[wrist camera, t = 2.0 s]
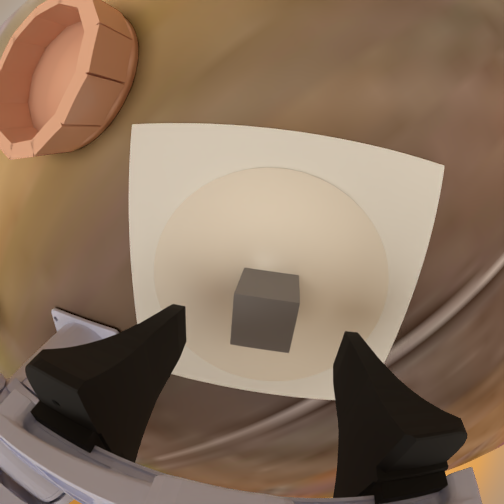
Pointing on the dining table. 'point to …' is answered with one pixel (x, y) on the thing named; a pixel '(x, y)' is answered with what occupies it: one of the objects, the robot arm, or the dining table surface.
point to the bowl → (64, 77)
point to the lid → (271, 272)
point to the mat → (295, 158)
